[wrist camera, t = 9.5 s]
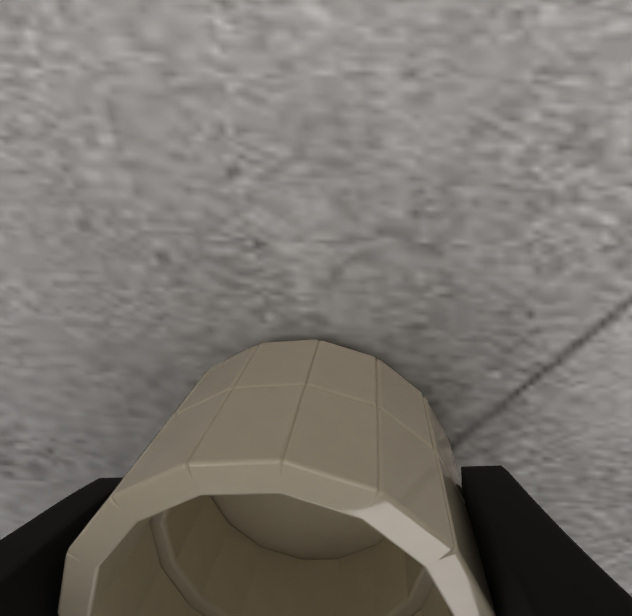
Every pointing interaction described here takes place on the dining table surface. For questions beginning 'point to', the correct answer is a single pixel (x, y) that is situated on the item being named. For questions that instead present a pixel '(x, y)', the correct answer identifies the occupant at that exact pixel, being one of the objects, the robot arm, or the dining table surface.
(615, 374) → the dining table surface
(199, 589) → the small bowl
